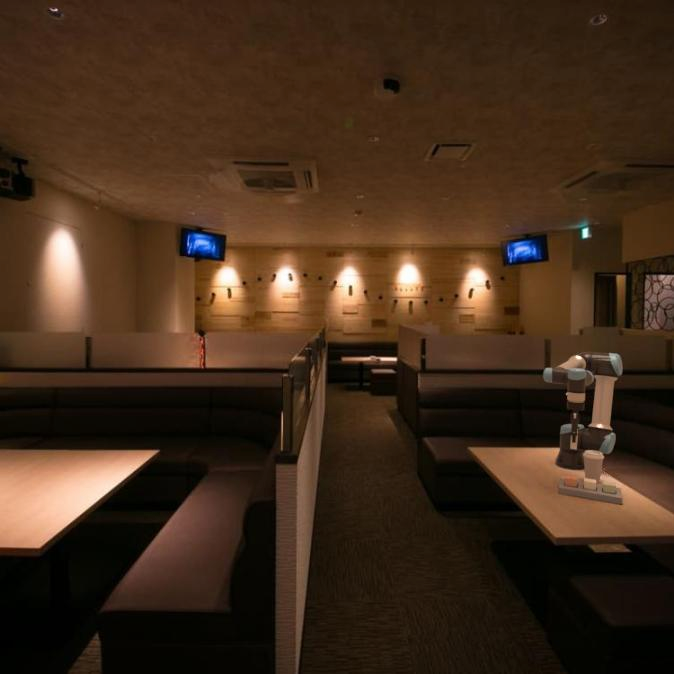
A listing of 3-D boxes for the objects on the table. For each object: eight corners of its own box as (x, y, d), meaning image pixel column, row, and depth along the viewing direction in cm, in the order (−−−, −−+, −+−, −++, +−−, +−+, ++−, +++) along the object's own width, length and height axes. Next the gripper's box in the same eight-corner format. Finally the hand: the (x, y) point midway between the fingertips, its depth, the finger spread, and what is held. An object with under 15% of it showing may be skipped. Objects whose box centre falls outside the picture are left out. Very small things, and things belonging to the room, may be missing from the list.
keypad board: (560, 484, 241) (560, 478, 241) (620, 494, 229) (620, 488, 229) (558, 493, 229) (558, 487, 229) (621, 504, 217) (622, 498, 217)
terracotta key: (565, 482, 236) (565, 474, 236) (577, 483, 234) (577, 476, 234) (565, 485, 232) (565, 478, 231) (576, 487, 229) (576, 479, 229)
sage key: (603, 488, 229) (603, 480, 228) (615, 490, 226) (615, 482, 226) (603, 491, 224) (603, 484, 224) (615, 493, 222) (615, 486, 222)
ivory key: (584, 485, 232) (584, 477, 232) (595, 486, 230) (596, 479, 230) (583, 488, 228) (584, 481, 228) (595, 490, 226) (596, 483, 225)
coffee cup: (605, 485, 241) (607, 455, 240) (584, 483, 243) (586, 454, 242) (599, 478, 250) (600, 450, 249) (579, 477, 252) (580, 449, 251)
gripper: (568, 396, 242) (566, 438, 244) (565, 404, 221) (564, 451, 222) (584, 397, 239) (583, 440, 240) (584, 406, 217) (582, 453, 219)
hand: (573, 445), depth 231 cm, fingers open, 12 cm apart
